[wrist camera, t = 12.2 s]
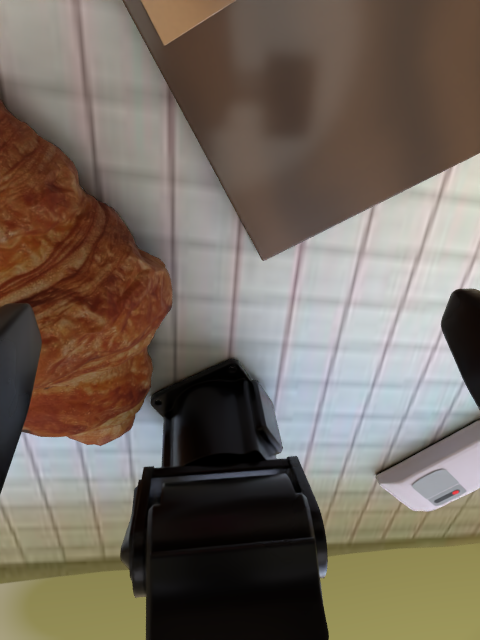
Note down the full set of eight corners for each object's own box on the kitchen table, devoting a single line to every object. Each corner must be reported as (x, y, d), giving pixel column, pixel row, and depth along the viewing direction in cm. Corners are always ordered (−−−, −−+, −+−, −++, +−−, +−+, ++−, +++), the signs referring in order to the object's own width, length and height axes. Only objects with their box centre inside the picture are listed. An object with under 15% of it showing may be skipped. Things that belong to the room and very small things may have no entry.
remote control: (356, 484, 37) (369, 517, 34) (529, 389, 32) (558, 420, 30) (392, 510, 40) (405, 542, 38) (554, 428, 35) (581, 459, 33)
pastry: (263, 265, 23) (294, 361, 17) (117, 424, 29) (99, 539, 23) (-68, 28, 16) (-242, 36, 9) (-173, 305, 22) (-323, 427, 15)
